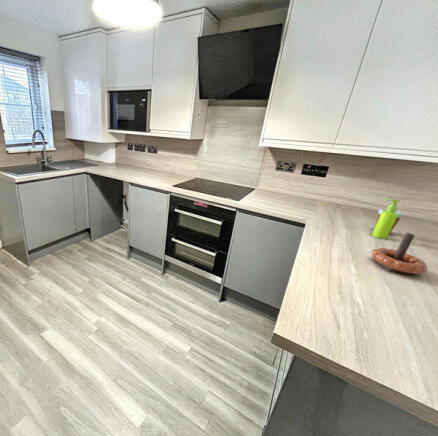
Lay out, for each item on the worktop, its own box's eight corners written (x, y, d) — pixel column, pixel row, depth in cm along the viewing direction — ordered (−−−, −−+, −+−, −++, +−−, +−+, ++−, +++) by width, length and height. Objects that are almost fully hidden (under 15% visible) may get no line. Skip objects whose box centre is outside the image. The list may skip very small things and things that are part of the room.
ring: (402, 257, 98) (406, 249, 97) (436, 278, 84) (441, 269, 83) (361, 252, 100) (365, 244, 99) (388, 271, 86) (393, 263, 85)
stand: (397, 262, 97) (413, 230, 91) (416, 275, 88) (435, 240, 83) (372, 259, 98) (387, 227, 93) (389, 271, 90) (406, 237, 84)
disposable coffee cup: (397, 236, 124) (408, 215, 119) (375, 233, 127) (384, 212, 122) (387, 230, 132) (397, 210, 128) (367, 227, 135) (375, 207, 131)
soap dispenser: (367, 232, 127) (383, 197, 120) (384, 235, 124) (401, 199, 117) (371, 236, 122) (388, 199, 115) (388, 239, 119) (407, 202, 112)
